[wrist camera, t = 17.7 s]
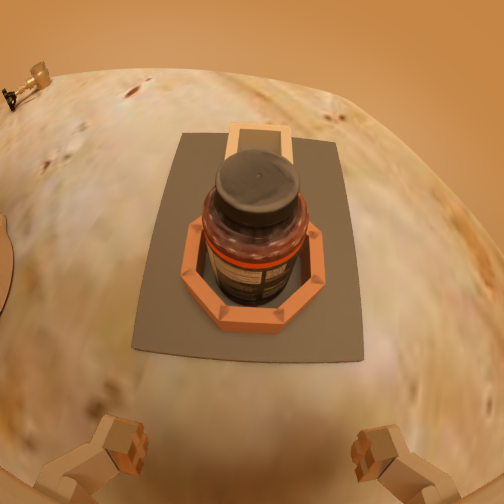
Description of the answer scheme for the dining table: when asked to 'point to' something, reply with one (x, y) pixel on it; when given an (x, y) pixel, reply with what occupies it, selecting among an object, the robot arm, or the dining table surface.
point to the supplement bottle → (254, 225)
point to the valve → (30, 83)
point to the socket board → (202, 276)
